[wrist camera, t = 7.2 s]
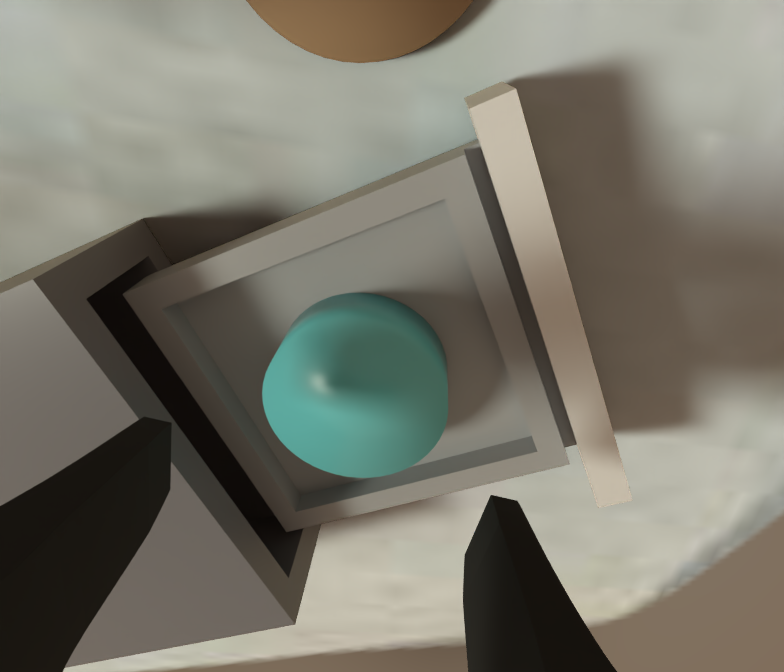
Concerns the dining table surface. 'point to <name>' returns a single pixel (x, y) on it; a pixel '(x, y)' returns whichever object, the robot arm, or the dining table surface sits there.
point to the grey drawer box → (112, 415)
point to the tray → (425, 296)
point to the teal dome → (358, 386)
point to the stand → (360, 25)
